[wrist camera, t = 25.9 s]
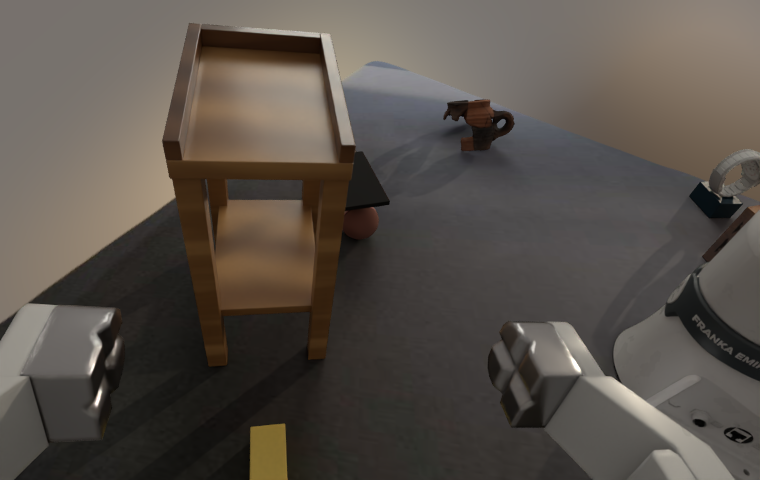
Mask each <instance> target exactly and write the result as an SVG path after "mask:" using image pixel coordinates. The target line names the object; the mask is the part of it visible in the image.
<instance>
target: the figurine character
mask: <svg viewBox="0 0 760 480" xmlns="http://www.w3.org/2000/svg"><path fill="white" fill-rule="evenodd" d="M389 202H390V201H389V199H388V197H387V195H386V193H385V192H384V190H383V188H382V186H381V184H380V182H379V181H378V179H377V177H376V175H375V173H374V172H373V170H372V168H371V166H370V164H369V162H368V161H367V159H366V157H365V155H364V153H363V152H356V150H355V155H354V162H353V169H352V177H351V180H349V184H348V192H347V199H346V207H345V214H344V222H343V229H342V230H343V231H344V233H345V234H346V235H348V236H349V237H351V238H353V239H365V238H368V237H369V236H371V235H372V234H373V233H374V232H375V231H376V229H377V227H378V223H379V218H378V214H377V212H376V210H375V209H374V208H373V207H377V206H384V205H389Z"/></svg>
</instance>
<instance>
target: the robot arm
mask: <svg viewBox="0 0 760 480" xmlns="http://www.w3.org/2000/svg"><path fill="white" fill-rule="evenodd" d="M121 324H122V319H121V313H120V310H119V309H118V308H108V307H90V306H72V305H43V304H26V305H25V306H23V307H22V308H21V309H20V310H19V311H18V313H17V314H16V316H15V318H14V319H13V321H12V323H11V324H10V326H9V328H8V329H7V331H6V333H5V334H4V336H3V338H2V339H1V341H0V480H14V479H15V478H16V477H17V476H18V475H19V474H20V473H21V472H22V471H23V470H24V469H25V468H26V467H27V466H28V465H29V464H30V463H31V462H32V461H33V460H34V459H35V458H36V457H37V456H38V455H39V454H40V453H41V452H43V451H44V450H45V449H46V448H47V447H48V446H49V445H48V443H50V442H69V441H87V440H102V438H103V435H104V432H105V429H106V425H107V422H108V419H109V416H110V413H111V410H112V404H111V397H110V394H111V393H112V392H113V391H115V390H116V389H117V388H118V387H119V383H120V380H121V376H122V372H123V366H124V359H125V345H124V339H123V338H122V337H121V336H120V335H119V334H118V333H119V330H120V327H121ZM499 333H500V335H501V338H502V340H500V341H499V342H497V343H496V344H495V345H493V347H492V349H491V351H490V353H489V356H488V372H489V377H490V379H491V382H492V384H493V386H494V387H495V388H496V389H498V390H499V391H500V392H501V393H502V398H501V401H500V403H501V405H502V408H503V410H504V412H505V415H506V417H507V419H508V422H509V424H510V426H511V428H545V429H544V430H545V431H546V432H547V433H548V434H549V435H550V436H551V437H552V438H553V439H554V440H555V441H556V442H557V443H558V444H559V445H560V446H561V447H562V448H563V449H564V450H565V451H566V452H567V453H568V454H569V455H570V457H571V458H572V459H573V460H574V461H575V462H576V463H577V464H578V465H579V466H580V467H581V468H582V469H583V470H584V471H585V472H586V473H587V474H588V475H589V476H590V477H591V478H592V479H593V480H760V210H759V211H758V212H757V213H756V214H755V215H754V216H753V217H752V218H751V219H750V220H749V221H748V222H747V223H746V224H745V225H744V226H743V227H742V228H741V229H740V230H739V231H738V233H737V234H736V235H735V236H734V237H733V238H732V239H731V240H730V241H729V242H728V243H727V244H726V245H725V246H724V247H723V248H722V249H721V250H720V252H719V253H718V254H717V255H716V256H715V257H714V258H713V259H712V260H711V261H710V262H706V263H704V264H702V265H701V266H699V267H698V268H697V269H696V270H695V271H694V272H693V273H692V274H691V275H690V274H689V275H688V277H687V278H686V279H685V280H684V281H683V282H682V283H681V284H680V285H679V286H678V287H677V288H676V289H675V291H674V292H673V293H672V294H671V295H670V297H669V298H668V300H667V303H666V305H664V306H663V307H662V308H661V309H659V310H658V311H657V312H655V313H654V314H653V315H651V316H650V317H649V318H647V319H646V320H644V321H642V322H640V323H639V324H637V325H635V326H632V327H630V328H628V329H626V330H624V331H623V332H622V333H621V334H620V335H619V336H618V338H617V340H616V342H615V345H614V350H613V358H614V364H615V368H616V371H617V374H618V376H619V379H620V380H621V382H622V384H623V385H622V384H621V383H620V382H618V381H617V380H615V379H614V378H612V377H611V376H605V375H604V374H603V372H602V371H601V369H600V367H599V366H598V364H597V363H596V361H595V360H594V358H593V357H592V355H591V354H590V352H589V351H588V349H587V348H586V346H585V345H584V343H583V342H582V340H581V339H580V337H579V336H578V334H577V333H576V331H575V330H574V328H573V327H572V326H571V325H570V324H568V323H567V322H535V321H508V322H506V323H505V324H504V325H503V327H502V329H501V330H500V332H499Z"/></svg>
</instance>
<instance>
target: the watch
mask: <svg viewBox="0 0 760 480" xmlns="http://www.w3.org/2000/svg"><path fill="white" fill-rule="evenodd" d="M739 164H741V166H742V173H741V175H742V176H743V177H742V178H740V179H741V180H742V181H741V180H740V179H739V180H737V181H736V182H735V183H732V184H730V185H728V186H725V185H724V184H723V183H724V181H725V179H726V178H725V176H726V174H727V173H728V172H729V170H731V169H732V168H734V166H737V165H739ZM741 183H742V184H743V185H744V186H745V187H744V186H743V185H742V184H741ZM759 183H760V153H759V152H756V151H753V150H752V149H749V150H748V149H746V150H740V151H738V152H735V153H733V154H732V155H730V156H728V157H726V159H724V160H723V161H721V163H719V164H718V165H717V167H716V168H715V169H713V172H712V174H711V176H710V180H709V182H700V183H699V184H698V185H697V187H696V188H695V189H694V190H693V192H692V193H691V194H690V197H691V198H692V199H693V201H694V202H695V203H696V204H697V205H698V206H699V207H700V208H701V209H702V211H703V212H704V213H705V214H706V215H707V216H708V217H709V218H731V216H732V215H733V214H734V213H735V212H736V211H737V210H738V209H739V208H740V207H741V205H742V204H743V203H742V202H741V201H740V200H739V199H738V198H737V197H736V195H738V194H741V193H743V191H747V190H748V189H750V188H751V187H753V186H754V187H755V186H757V185H758V184H759ZM742 190H743V191H742Z"/></svg>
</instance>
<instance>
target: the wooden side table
mask: <svg viewBox="0 0 760 480" xmlns="http://www.w3.org/2000/svg"><path fill="white" fill-rule="evenodd" d="M162 142H163V147H164V153H165V157H166V162H167V168H168V173H169V177H170V178H171V179H172V180H173V186H174V191H175V196H176V201H177V206H178V211H179V216H180V222H181V227H182V232H183V237H184V242H185V247H186V252H187V258H188V263H189V268H190V273H191V278H192V283H193V289H194V294H195V299H196V304H197V309H198V314H199V319H200V325H201V330H202V335H203V340H204V345H205V350H206V355H207V361H208V366H209V367H211V366H225V365H227V357H228V348H227V341H226V334H225V326H224V319H223V316H234V315H254V314H274V313H294V312H310V317H309V329H308V342H307V349H308V360H311V359H325V356H326V349H327V341H328V334H329V326H330V319H331V311H332V304H333V296H334V289H335V282H336V274H337V267H338V259H339V252H340V244H341V237H342V229H343V222H344V214H345V207H346V199H347V192H348V184H349V180H351V177H352V169H353V162H354V155H355V147H356V145H355V141H354V136H353V132H352V127H351V123H350V118H349V114H348V110H347V105H346V101H345V96H344V92H343V87H342V83H341V78H340V74H339V69H338V65H337V60H336V56H335V52H334V47H333V43H332V38H331V35H330V34H323V33H320V34H319V33H312V32H299V31H286V30H272V29H259V28H247V27H233V26H220V25H207V24H202V25H201V24H194V23H189V26H188V30H187V35H186V39H185V43H184V48H183V52H182V56H181V61H180V65H179V70H178V74H177V78H176V83H175V87H174V92H173V96H172V100H171V105H170V109H169V113H168V118H167V122H166V126H165V131H164V135H163V140H162ZM205 179H207V184H208V192H209V199H210V207H211V215H212V222H213V230H214V238H215V245H216V249H215V251H214V244H213V236H212V229H211V221H210V214H209V206H208V199H207V192H206V184H205ZM227 179H259V180H303V184H302V200H229V199H228V188H227Z"/></svg>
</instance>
